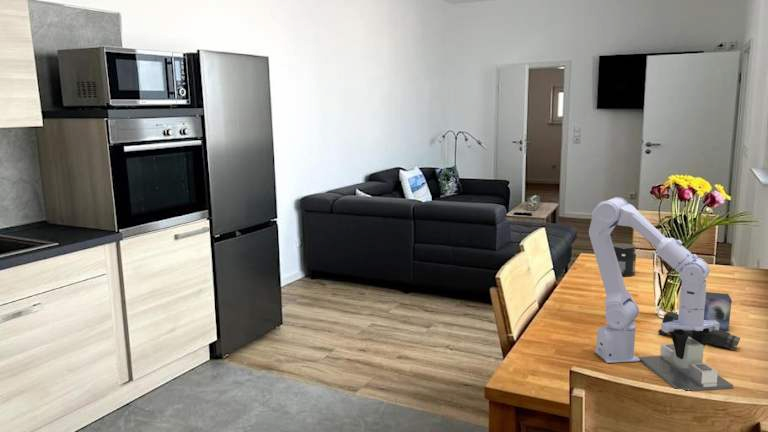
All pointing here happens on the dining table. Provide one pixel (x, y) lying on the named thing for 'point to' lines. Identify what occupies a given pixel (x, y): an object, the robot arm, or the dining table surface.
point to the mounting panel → (684, 372)
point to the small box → (718, 309)
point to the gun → (718, 336)
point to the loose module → (691, 353)
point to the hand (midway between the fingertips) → (687, 356)
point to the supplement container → (626, 258)
